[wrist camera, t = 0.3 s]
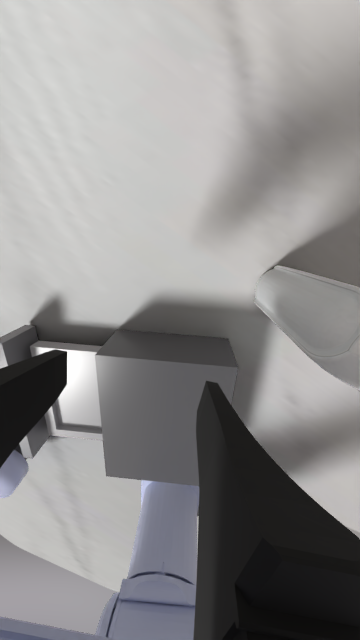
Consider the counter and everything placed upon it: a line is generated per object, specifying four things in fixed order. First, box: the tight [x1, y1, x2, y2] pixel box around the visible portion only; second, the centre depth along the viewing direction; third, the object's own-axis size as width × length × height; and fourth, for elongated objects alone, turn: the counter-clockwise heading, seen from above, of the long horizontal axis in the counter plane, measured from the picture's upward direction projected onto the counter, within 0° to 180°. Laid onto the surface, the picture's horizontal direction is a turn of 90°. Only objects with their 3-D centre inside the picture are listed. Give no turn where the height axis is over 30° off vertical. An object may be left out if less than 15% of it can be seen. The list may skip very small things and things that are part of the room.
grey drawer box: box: [95, 330, 238, 486], centre depth 21 cm, size 11×14×5 cm
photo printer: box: [254, 265, 360, 391], centre depth 13 cm, size 10×4×12 cm, turn 65°
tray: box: [0, 325, 103, 459], centre depth 21 cm, size 11×14×4 cm
